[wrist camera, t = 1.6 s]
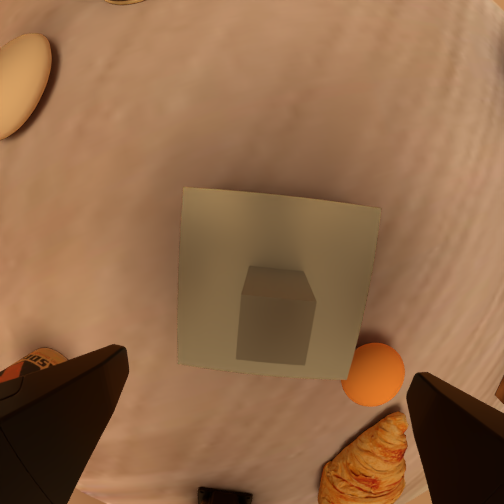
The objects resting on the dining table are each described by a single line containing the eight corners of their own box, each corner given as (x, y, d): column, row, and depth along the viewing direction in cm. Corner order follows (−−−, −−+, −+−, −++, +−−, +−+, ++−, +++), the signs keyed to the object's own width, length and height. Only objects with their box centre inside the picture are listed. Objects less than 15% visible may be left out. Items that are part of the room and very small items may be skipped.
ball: (382, 382, 23) (401, 417, 18) (329, 382, 23) (340, 420, 18) (398, 332, 22) (423, 362, 17) (342, 330, 22) (358, 363, 17)
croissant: (359, 384, 27) (336, 429, 20) (447, 405, 22) (447, 456, 15) (311, 496, 31) (286, 534, 24) (375, 515, 26) (358, 557, 19)
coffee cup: (87, 354, 24) (12, 428, 12) (99, 422, 26) (49, 495, 14) (22, 329, 24) (-52, 378, 13) (37, 395, 26) (-17, 450, 15)
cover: (330, 337, 22) (364, 428, 12) (198, 323, 23) (153, 409, 12) (351, 203, 20) (421, 214, 10) (206, 188, 21) (149, 185, 10)
